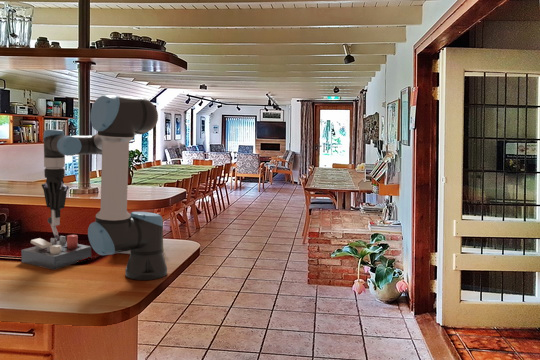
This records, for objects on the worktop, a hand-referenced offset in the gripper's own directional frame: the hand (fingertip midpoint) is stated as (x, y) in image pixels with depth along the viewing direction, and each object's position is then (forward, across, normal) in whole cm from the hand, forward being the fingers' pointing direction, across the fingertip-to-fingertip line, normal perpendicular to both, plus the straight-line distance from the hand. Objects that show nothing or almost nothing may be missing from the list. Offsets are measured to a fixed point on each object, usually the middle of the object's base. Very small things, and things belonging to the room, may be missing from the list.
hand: (55, 225), depth 192 cm
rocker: (+6, -1, +8) cm, 10 cm away
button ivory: (+11, -9, +8) cm, 16 cm away
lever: (+7, -1, 0) cm, 7 cm away
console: (+13, -5, +4) cm, 15 cm away
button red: (+8, -9, 0) cm, 13 cm away
